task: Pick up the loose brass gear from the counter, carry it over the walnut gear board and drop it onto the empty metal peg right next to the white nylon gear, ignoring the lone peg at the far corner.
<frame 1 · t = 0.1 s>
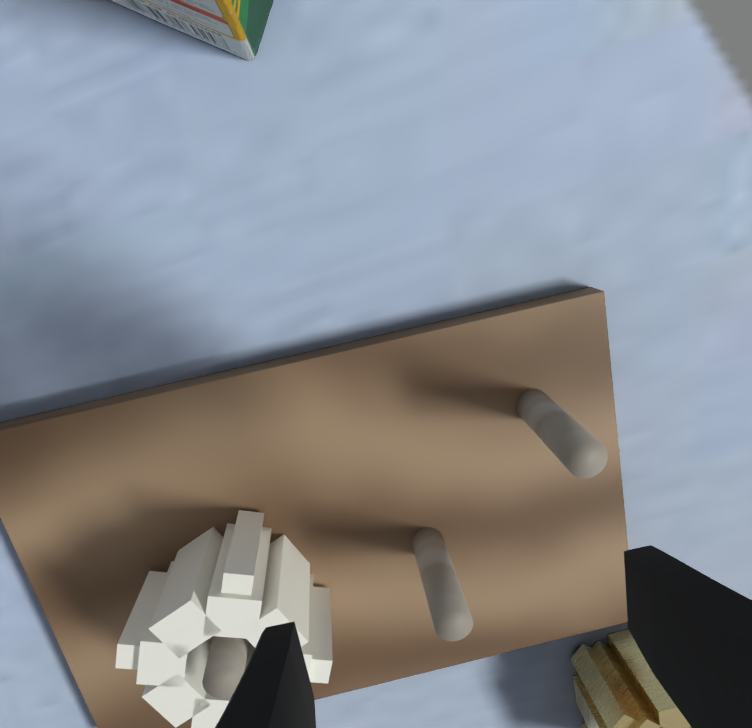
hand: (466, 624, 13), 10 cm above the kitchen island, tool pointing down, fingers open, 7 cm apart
nylon gear: (240, 586, 22), point 1 cm above the kitchen island, touching gear board
brass gear: (630, 676, 26), on the kitchen island
gear board: (335, 524, 23), on the kitchen island
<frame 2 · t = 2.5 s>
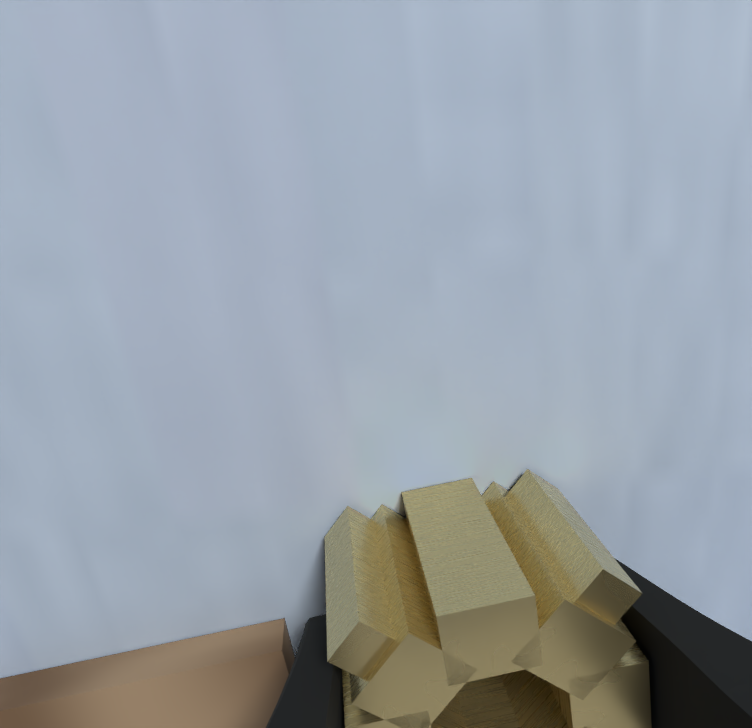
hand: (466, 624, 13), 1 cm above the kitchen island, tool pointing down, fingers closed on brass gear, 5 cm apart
brass gear: (452, 582, 14), on the kitchen island, touching gripper
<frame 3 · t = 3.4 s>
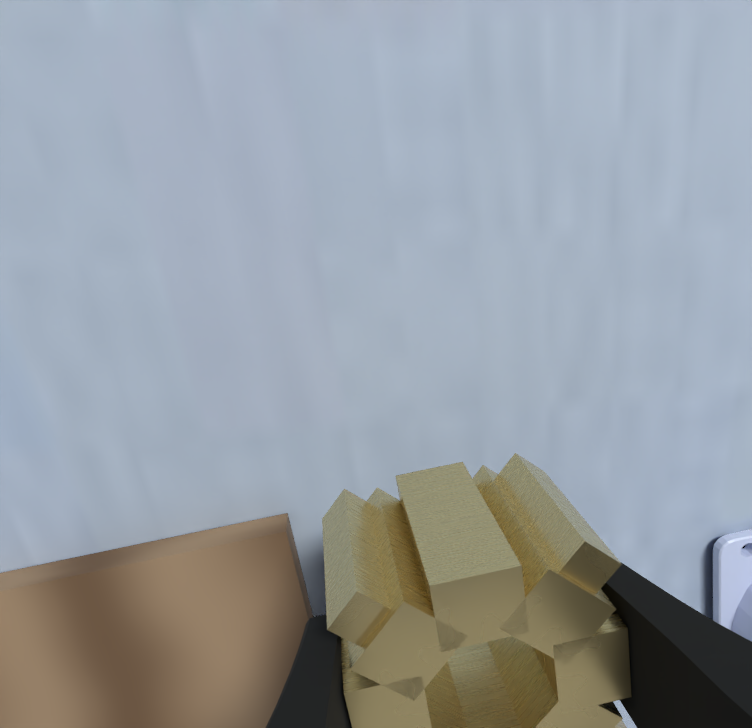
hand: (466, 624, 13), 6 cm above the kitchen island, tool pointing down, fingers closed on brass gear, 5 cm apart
brass gear: (444, 562, 15), point 4 cm above the kitchen island, touching gripper
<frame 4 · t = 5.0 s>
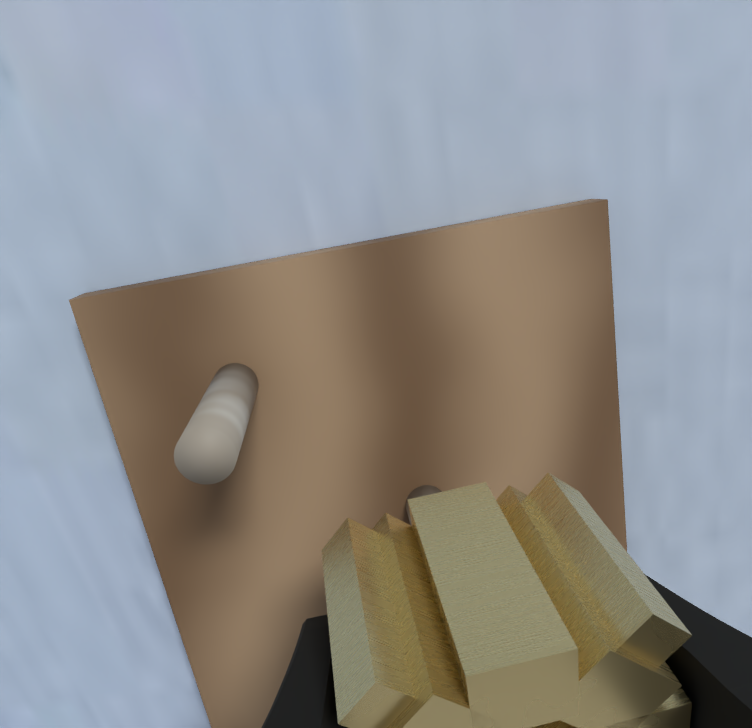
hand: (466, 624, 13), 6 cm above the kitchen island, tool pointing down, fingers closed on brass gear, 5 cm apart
brass gear: (459, 588, 13), point 6 cm above the kitchen island, tilted 8°, touching gear board, gripper
gear board: (405, 582, 19), on the kitchen island
when the fingers open (5 cm above the kitchen island, at t = 6.2 s): brass gear drops 4 cm, resting on gear board.
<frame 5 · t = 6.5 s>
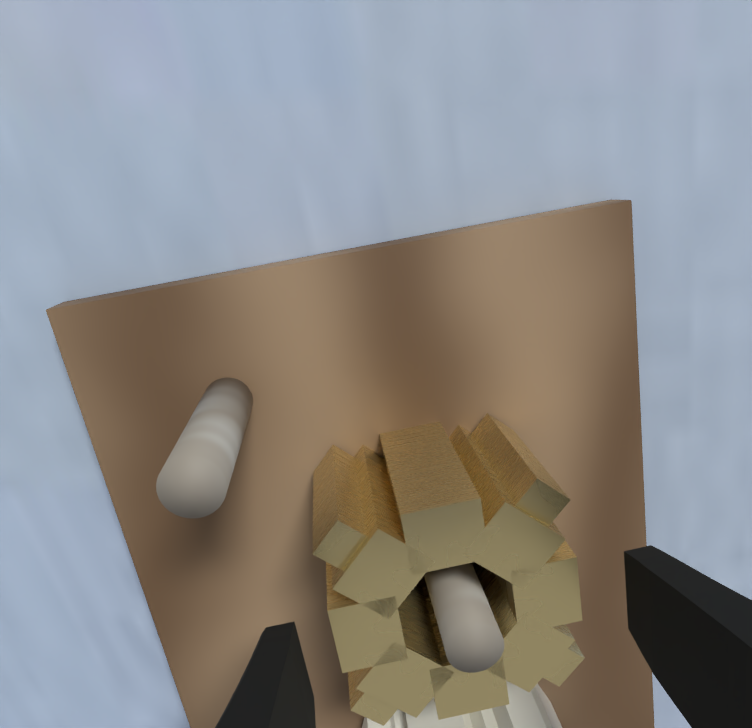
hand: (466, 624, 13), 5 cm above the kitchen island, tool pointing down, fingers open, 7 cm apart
nylon gear: (466, 726, 18), point 1 cm above the kitchen island, touching gear board
brass gear: (424, 514, 16), point 1 cm above the kitchen island, touching gear board
gear board: (410, 608, 18), on the kitchen island
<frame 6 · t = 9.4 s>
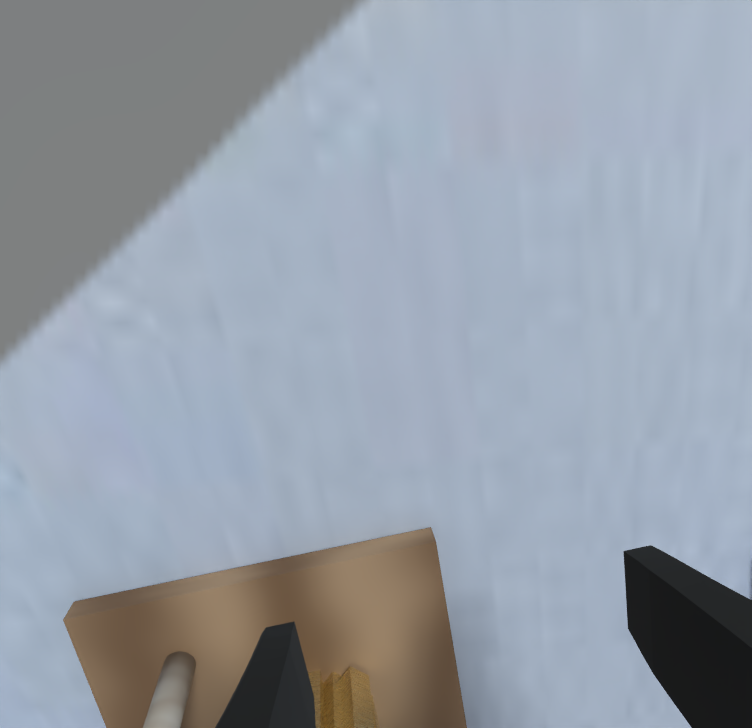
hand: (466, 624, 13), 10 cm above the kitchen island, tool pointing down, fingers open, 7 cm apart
brass gear: (313, 724, 24), point 1 cm above the kitchen island, touching gear board
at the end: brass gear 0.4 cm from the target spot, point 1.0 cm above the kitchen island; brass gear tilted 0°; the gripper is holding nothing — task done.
